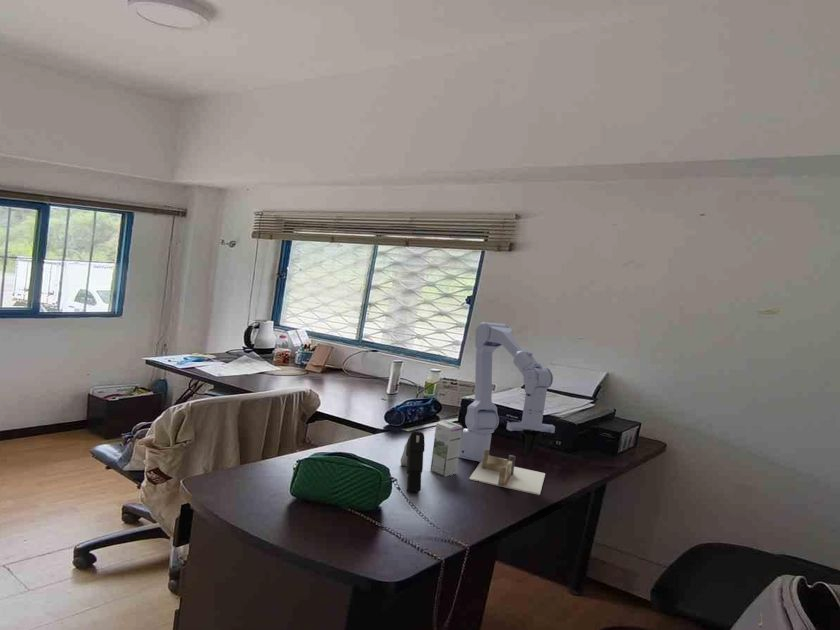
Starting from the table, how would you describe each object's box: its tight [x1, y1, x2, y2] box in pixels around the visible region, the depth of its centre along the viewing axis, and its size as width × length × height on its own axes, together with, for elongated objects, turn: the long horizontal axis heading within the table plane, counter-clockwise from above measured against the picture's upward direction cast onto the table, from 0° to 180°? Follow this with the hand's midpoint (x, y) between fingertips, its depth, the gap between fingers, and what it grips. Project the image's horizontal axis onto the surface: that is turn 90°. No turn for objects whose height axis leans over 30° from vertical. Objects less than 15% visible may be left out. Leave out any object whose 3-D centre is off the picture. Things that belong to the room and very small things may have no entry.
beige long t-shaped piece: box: [498, 461, 513, 487], centre depth 166 cm, size 12×2×5 cm, turn 159°
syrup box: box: [430, 420, 463, 477], centre depth 167 cm, size 6×6×14 cm
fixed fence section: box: [482, 450, 517, 475], centre depth 174 cm, size 10×2×5 cm, turn 73°
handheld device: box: [400, 431, 425, 493], centre depth 159 cm, size 4×22×15 cm
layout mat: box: [469, 462, 546, 496], centre depth 172 cm, size 20×20×1 cm
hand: (526, 455), depth 166 cm, fingers closed
